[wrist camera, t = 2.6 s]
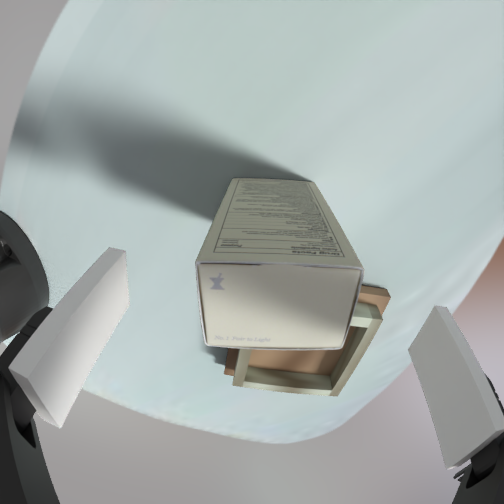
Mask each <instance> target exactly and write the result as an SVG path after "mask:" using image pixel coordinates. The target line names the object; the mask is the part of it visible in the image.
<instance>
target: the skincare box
mask: <svg viewBox="0 0 504 504" xmlns="http://www.w3.org/2000/svg"><path fill="white" fill-rule="evenodd" d="M195 266H196V280H197V293H198V302H199V312H200V320H201V327H202V332H203V338H204V343H205V344H206V345H207V346H216V347H226V348H240V349H258V350H334V349H335V350H337V349H341V348H342V347H343V345H344V342H345V339H346V336H347V333H348V330H349V327H350V324H351V321H352V317H353V314H354V311H355V307H356V304H357V301H358V297H359V293H360V289H361V285H362V281H363V277H364V272H365V271H364V268H363V266H362V264H361V263H360V261H359V259H358V257H357V255H356V253H355V251H354V249H353V248H352V246H351V244H350V243H349V241H348V239H347V237H346V235H345V233H344V232H343V230H342V228H341V226H340V224H339V223H338V221H337V219H336V217H335V216H334V214H333V212H332V211H331V209H330V207H329V206H328V204H327V202H326V200H325V199H324V197H323V195H322V194H321V192H320V190H319V189H318V187H317V186H316V184H315V183H314V182H306V181H295V180H280V179H258V178H233V179H232V180H231V182H230V184H229V187H228V189H227V191H226V193H225V196H224V198H223V200H222V202H221V204H220V206H219V209H218V211H217V213H216V215H215V218H214V220H213V222H212V225H211V227H210V229H209V232H208V234H207V236H206V239H205V241H204V243H203V245H202V248H201V250H200V252H199V254H198V257H197V259H196V262H195Z"/></svg>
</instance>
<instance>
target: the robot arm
mask: <svg viewBox="0 0 504 504" xmlns="http://www.w3.org/2000/svg"><path fill="white" fill-rule="evenodd" d="M48 303H49V287H48V282H47V278H46V275H45V272H44V269H43V266H42V264H41V261H40V259H39V257H38V255H37V253H36V251H35V249H34V248H33V246H32V244H31V243H30V241H29V240H28V238H27V237H26V235H25V234H24V233H23V231H22V230H21V229H20V228H19V227H18V226H17V225H16V224H15V223H14V222H13V221H12V220H11V219H10V218H9V217H8V216H6V215H5V214H3V213H1V212H0V343H1V342H3V341H4V340H6V339H8V338H10V337H11V336H13V335H15V334H17V333H18V332H20V333H18V334H17V335H16V336H15V338H14V339H13V340H12V342H11V343H10V344H9V345H8V347H7V348H6V349H5V351H4V352H3V353H2V355H1V356H0V504H60V502H59V500H58V497H57V495H56V492H55V490H54V487H53V484H52V481H51V478H50V475H49V472H48V469H47V466H46V463H45V459H44V456H43V452H42V449H41V445H40V441H39V437H38V433H37V429H36V424H35V421H34V419H33V415H34V413H35V412H36V411H37V413H38V414H39V415H40V417H41V418H42V419H43V420H45V421H47V422H48V423H50V424H53V425H54V426H57V427H58V428H61V427H62V425H63V423H64V421H65V419H66V417H67V415H68V413H69V411H70V409H71V407H72V405H73V403H74V401H75V399H76V397H77V396H78V394H79V392H80V390H81V388H82V386H83V384H84V383H85V381H86V379H87V377H88V375H89V373H90V372H91V370H92V368H93V366H94V364H95V363H96V361H97V359H98V357H99V356H100V354H101V352H102V350H103V349H104V347H105V345H106V344H107V342H108V340H109V338H110V337H111V335H112V333H113V332H114V330H115V328H116V327H117V325H118V323H119V322H120V320H121V318H122V317H123V315H124V314H125V312H126V310H127V309H128V307H129V306H130V301H129V290H128V278H127V264H126V251H124V250H120V249H115V248H110V247H109V248H108V249H107V250H106V251H105V252H104V253H103V254H102V255H101V256H100V257H99V258H98V260H97V261H96V262H95V263H94V264H93V265H92V266H91V267H90V268H89V269H88V270H87V271H86V272H85V273H84V275H83V276H82V277H81V278H80V279H79V280H78V281H77V282H76V283H75V284H74V286H73V287H72V288H71V289H70V290H69V291H68V292H67V294H66V295H65V296H64V297H63V298H62V299H61V301H60V302H59V303H58V304H57V305H56V306H55V308H54V309H53V308H50V307H47V306H48ZM408 351H409V354H410V356H411V359H412V362H413V364H414V367H415V369H416V372H417V375H418V378H419V380H420V383H421V386H422V389H423V392H424V395H425V398H426V401H427V404H428V407H429V410H430V413H431V417H432V420H433V423H434V426H435V430H436V433H437V437H438V440H439V444H440V447H441V451H442V455H443V459H444V463H445V467H446V470H447V469H451V468H455V467H458V466H461V465H462V464H463V463H465V462H466V461H468V460H469V459H471V464H469V465H468V466H467V467H465V468H464V469H462V470H461V471H459V472H458V473H457V474H455V476H454V479H456V478H457V477H459V476H460V475H462V474H463V473H464V475H463V476H462V477H460V478H459V479H458V481H460V482H461V483H460V486H459V488H458V491H457V493H456V495H455V498H454V500H453V502H452V504H504V409H503V406H502V404H501V402H500V401H499V397H498V395H497V393H495V389H494V387H493V384H492V382H491V381H490V379H489V378H488V377H487V376H486V375H485V374H484V372H483V370H482V368H481V366H480V364H479V363H478V361H477V359H476V357H475V355H474V353H473V351H472V349H471V348H470V346H469V344H468V342H467V340H466V339H465V337H464V335H463V333H462V332H461V330H460V329H459V327H458V325H457V323H456V322H455V320H454V318H453V317H452V315H451V313H450V312H449V310H448V309H447V307H441V306H434V308H433V309H432V311H431V313H430V315H429V316H428V318H427V320H426V322H425V323H424V325H423V327H422V328H421V330H420V332H419V333H418V335H417V336H416V338H415V340H414V341H413V343H412V344H411V346H410V347H409V349H408Z"/></svg>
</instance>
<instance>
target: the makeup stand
mask: <svg viewBox="0 0 504 504" xmlns="http://www.w3.org/2000/svg"><path fill="white" fill-rule="evenodd" d="M390 298H391V297H390V295H389V293H388V291H387V289H382V288H375V287H369V286H363V285H361V289H360V293H359V297H358V301H357V304H356V307H355V311H354V314H353V317H352V321H351V324H350V327H349V330H348V333H347V336H346V339H345V342H344V345H343V347H342V348H341V349H337V350H335V349H334V350H258V349H240V348H228V354H227V360H226V365H225V371H224V374H225V375H231V376H234V378H233V386H240V387H246V388H253V389H261V390H269V391H277V392H286V393H297V394H309V395H323V396H338V395H339V393H340V392H341V390H342V389H343V387H344V386H345V384H346V382H347V381H348V379H349V378H350V376H351V375H352V373H353V371H354V370H355V368H356V367H357V365H358V363H359V362H360V360H361V358H362V357H363V355H364V353H365V351H366V350H367V348H368V346H369V345H370V343H371V341H372V339H373V337H374V336H375V334H376V332H377V330H378V328H379V326H380V325H381V323H382V321H383V319H382V314H383V312H384V310H385V308H386V306H387V304H388V302H389V300H390Z"/></svg>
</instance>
